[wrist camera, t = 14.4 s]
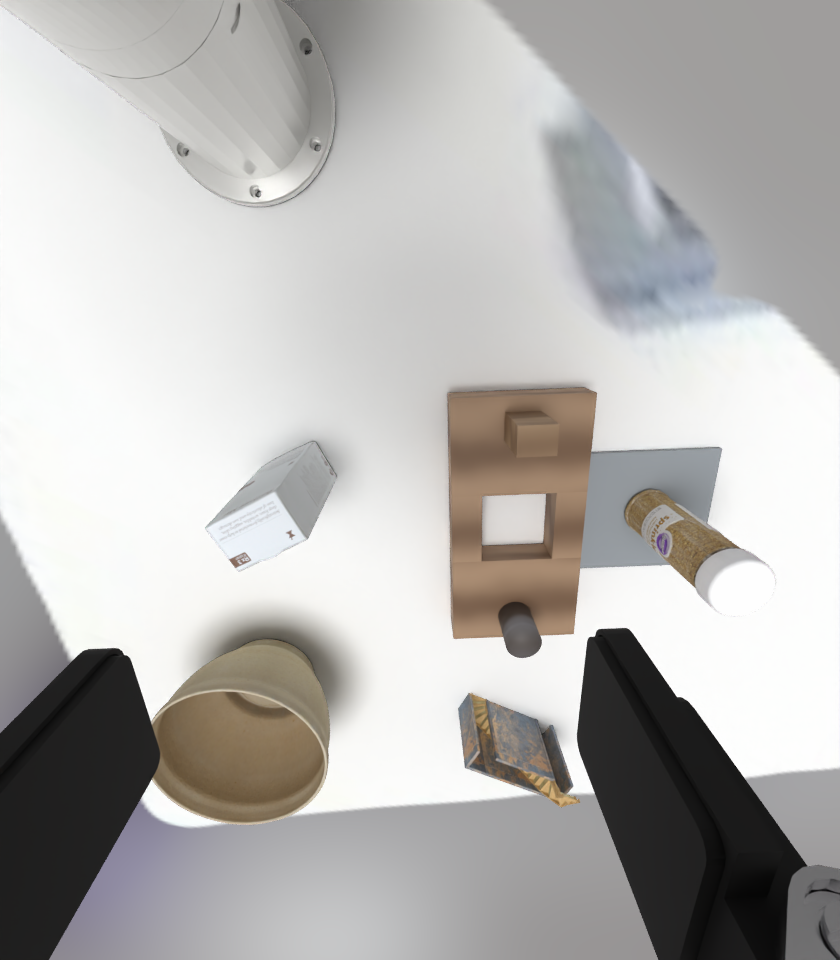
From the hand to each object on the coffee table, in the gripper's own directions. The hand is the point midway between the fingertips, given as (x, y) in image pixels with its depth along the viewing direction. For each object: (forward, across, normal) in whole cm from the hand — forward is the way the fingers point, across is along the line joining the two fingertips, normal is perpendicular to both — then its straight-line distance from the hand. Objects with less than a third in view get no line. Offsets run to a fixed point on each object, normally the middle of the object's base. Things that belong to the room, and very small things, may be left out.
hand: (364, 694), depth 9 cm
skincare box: (+32, +10, +6) cm, 35 cm away
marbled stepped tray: (+33, -10, +37) cm, 51 cm away
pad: (+32, -23, +11) cm, 41 cm away
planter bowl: (+32, +16, +29) cm, 46 cm away
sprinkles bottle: (+32, -23, +11) cm, 41 cm away
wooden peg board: (+32, -10, +11) cm, 36 cm away
